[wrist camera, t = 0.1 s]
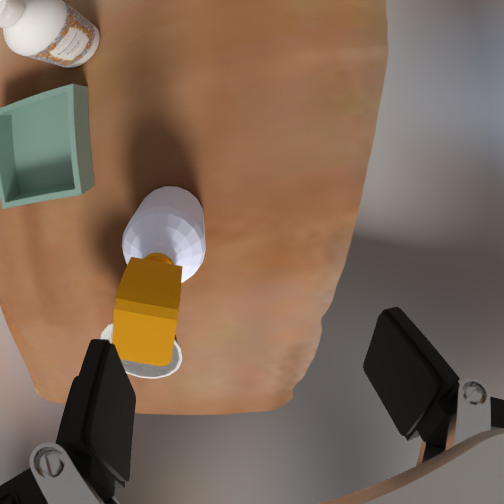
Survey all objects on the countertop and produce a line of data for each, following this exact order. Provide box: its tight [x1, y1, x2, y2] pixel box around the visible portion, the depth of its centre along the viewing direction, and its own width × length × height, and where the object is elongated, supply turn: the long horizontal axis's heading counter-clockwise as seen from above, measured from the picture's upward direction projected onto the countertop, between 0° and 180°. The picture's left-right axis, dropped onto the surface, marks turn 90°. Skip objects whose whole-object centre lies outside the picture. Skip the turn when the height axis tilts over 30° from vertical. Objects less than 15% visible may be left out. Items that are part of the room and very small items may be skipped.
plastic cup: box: [101, 322, 182, 379], centre depth 38 cm, size 11×11×12 cm
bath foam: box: [0, 0, 100, 68], centre depth 17 cm, size 7×7×20 cm
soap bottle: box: [112, 186, 206, 366], centre depth 28 cm, size 9×9×25 cm
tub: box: [0, 84, 95, 209], centre depth 28 cm, size 14×14×5 cm
